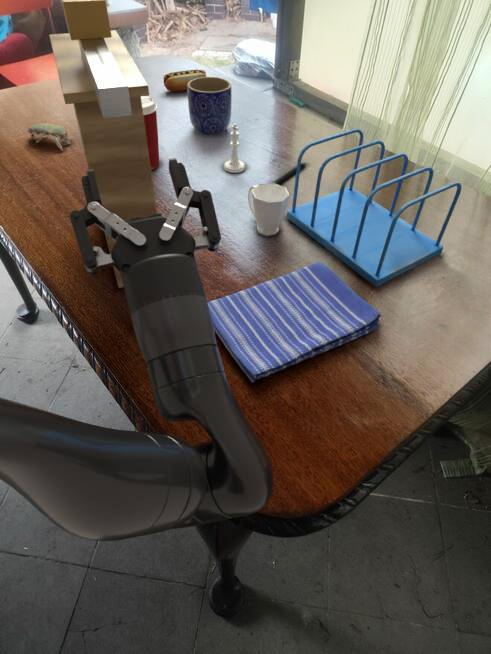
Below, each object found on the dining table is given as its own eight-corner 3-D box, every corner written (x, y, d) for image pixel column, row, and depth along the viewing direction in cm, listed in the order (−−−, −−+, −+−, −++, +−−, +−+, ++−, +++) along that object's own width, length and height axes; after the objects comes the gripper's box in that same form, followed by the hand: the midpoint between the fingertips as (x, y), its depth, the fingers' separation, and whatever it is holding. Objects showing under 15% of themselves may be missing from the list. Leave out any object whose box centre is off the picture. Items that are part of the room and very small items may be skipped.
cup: (264, 244, 85) (266, 206, 79) (234, 219, 91) (234, 182, 85) (293, 232, 88) (297, 195, 82) (262, 208, 93) (265, 172, 88)
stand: (172, 279, 78) (148, 85, 55) (113, 291, 75) (62, 93, 53) (143, 204, 94) (115, 29, 71) (94, 212, 91) (49, 34, 69)
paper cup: (157, 154, 109) (150, 92, 98) (168, 168, 104) (161, 105, 94) (125, 160, 106) (114, 97, 96) (135, 175, 102) (124, 111, 91)
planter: (205, 142, 114) (203, 95, 105) (181, 127, 119) (178, 82, 111) (239, 131, 118) (240, 86, 110) (215, 118, 124) (214, 73, 116)
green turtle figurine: (34, 152, 106) (30, 129, 103) (29, 142, 114) (25, 120, 111) (73, 151, 110) (70, 129, 107) (66, 141, 117) (63, 120, 115)
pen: (306, 160, 106) (302, 161, 107) (267, 186, 97) (263, 187, 98) (308, 164, 107) (304, 165, 107) (269, 191, 98) (265, 192, 99)
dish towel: (383, 328, 71) (387, 315, 69) (252, 387, 62) (253, 375, 60) (319, 266, 81) (321, 254, 79) (198, 310, 73) (197, 297, 70)
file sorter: (285, 218, 91) (293, 144, 80) (348, 194, 98) (363, 122, 87) (375, 288, 77) (399, 209, 66) (441, 254, 84) (473, 178, 73)
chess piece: (232, 160, 108) (232, 117, 100) (249, 166, 106) (250, 123, 98) (219, 168, 105) (218, 124, 97) (236, 175, 103) (237, 131, 96)
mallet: (141, 114, 49) (131, 40, 44) (94, 120, 48) (78, 44, 43) (110, 52, 63) (100, -9, 58) (73, 55, 62) (59, -8, 57)
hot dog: (209, 89, 138) (209, 72, 135) (168, 95, 134) (166, 77, 131) (203, 84, 141) (202, 66, 138) (162, 90, 137) (160, 72, 134)
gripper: (245, 284, 43) (200, 136, 46) (91, 318, 39) (53, 155, 42) (232, 307, 50) (194, 177, 53) (101, 337, 46) (68, 197, 49)
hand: (132, 168), depth 48 cm, fingers open, 8 cm apart
